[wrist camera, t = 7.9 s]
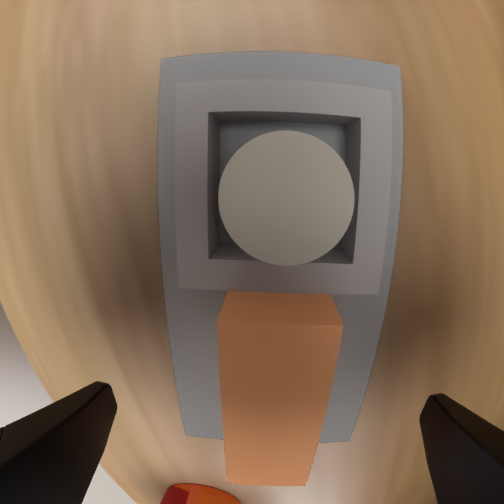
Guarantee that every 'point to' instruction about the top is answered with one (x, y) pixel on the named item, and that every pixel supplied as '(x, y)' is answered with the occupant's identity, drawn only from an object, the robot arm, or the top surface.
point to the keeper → (274, 221)
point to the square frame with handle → (278, 268)
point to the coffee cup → (197, 495)
